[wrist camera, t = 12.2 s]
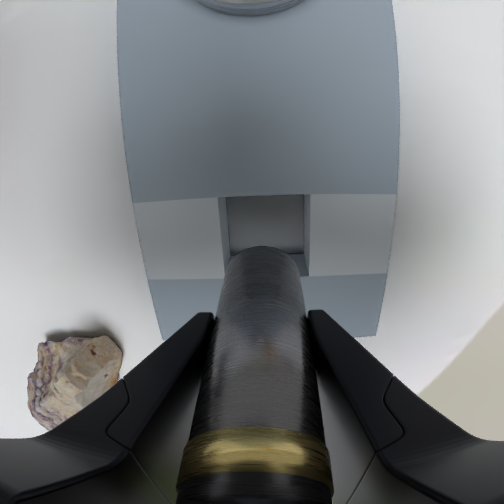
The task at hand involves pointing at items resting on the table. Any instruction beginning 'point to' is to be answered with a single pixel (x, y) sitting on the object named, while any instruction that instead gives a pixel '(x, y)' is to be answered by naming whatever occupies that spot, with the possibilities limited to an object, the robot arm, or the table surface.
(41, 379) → the mineral specimen
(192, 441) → the pin
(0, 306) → the table surface
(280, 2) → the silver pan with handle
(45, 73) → the table surface
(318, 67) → the plate
